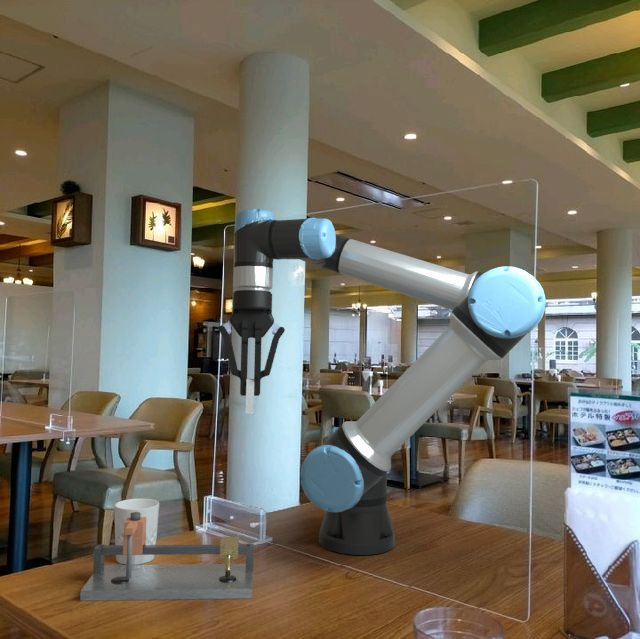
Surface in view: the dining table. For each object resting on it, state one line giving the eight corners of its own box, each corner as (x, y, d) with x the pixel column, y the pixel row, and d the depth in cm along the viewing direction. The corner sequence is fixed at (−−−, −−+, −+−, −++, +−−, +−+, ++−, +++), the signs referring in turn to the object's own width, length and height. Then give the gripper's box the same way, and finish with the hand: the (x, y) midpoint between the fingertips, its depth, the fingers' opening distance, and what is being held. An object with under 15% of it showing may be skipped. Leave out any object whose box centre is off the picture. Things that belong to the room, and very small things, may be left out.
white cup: (145, 568, 109) (146, 510, 110) (104, 564, 111) (106, 507, 111) (165, 553, 117) (166, 500, 117) (126, 550, 119) (128, 497, 119)
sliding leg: (144, 565, 105) (146, 510, 106) (136, 580, 99) (138, 522, 99) (126, 565, 105) (128, 510, 106) (117, 580, 99) (119, 522, 99)
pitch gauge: (252, 572, 108) (253, 534, 109) (251, 598, 97) (252, 555, 98) (99, 574, 106) (100, 534, 106) (80, 600, 95) (81, 556, 95)
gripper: (285, 293, 125) (283, 411, 124) (220, 291, 124) (216, 410, 123) (287, 289, 117) (284, 415, 117) (217, 287, 116) (213, 414, 115)
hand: (249, 412), depth 120 cm, fingers closed
